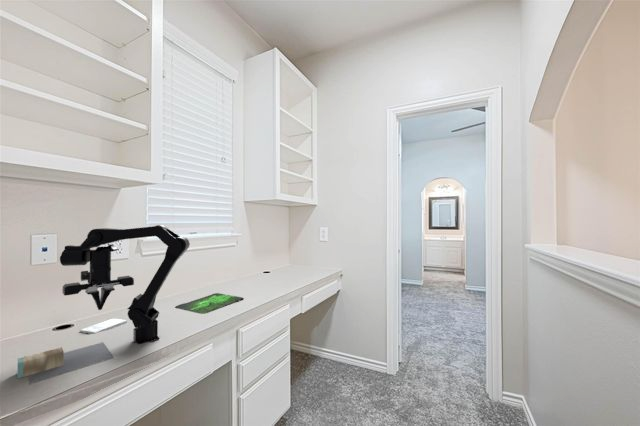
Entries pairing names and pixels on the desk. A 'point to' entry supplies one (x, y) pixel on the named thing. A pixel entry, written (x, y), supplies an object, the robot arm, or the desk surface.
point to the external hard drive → (103, 326)
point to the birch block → (40, 362)
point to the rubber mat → (75, 361)
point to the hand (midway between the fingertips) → (99, 309)
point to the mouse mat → (209, 303)
